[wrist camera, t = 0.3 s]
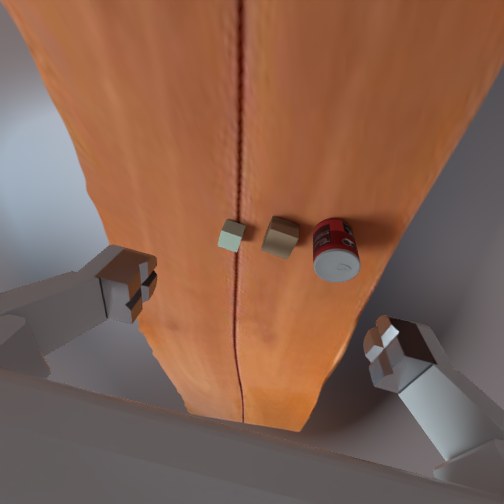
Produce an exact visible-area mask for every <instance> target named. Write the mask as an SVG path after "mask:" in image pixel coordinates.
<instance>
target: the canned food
mask: <svg viewBox="0 0 504 504" xmlns="http://www.w3.org/2000/svg"><path fill="white" fill-rule="evenodd" d="M313 263H314V270H315V273H316V274H317V275H318V276H319V277H320V278H322V279H324V280H326V281H330V282H344V281H347V280H350V279H352V278H353V277H355V276H356V275H357V274H358V272H359V270H360V260H359V255H358V251H357V247H356V243H355V239H354V235H353V231H352V228H351V227H350V226H349V224H348V223H346V222H345V221H343V220H341V219H336V218H331V219H326V220H324V221H322V222H320V223H319V224H318V225H317V226H316V228H315V229H314V232H313Z"/></svg>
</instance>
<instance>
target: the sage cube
mask: <svg viewBox="0 0 504 504" xmlns="http://www.w3.org/2000/svg"><path fill="white" fill-rule="evenodd" d="M245 227H246V226H245V225H242V224H239V223H236V222H234V221H231V220H228V219H227V220H226V222H225V224H224V226H223V228H222V230H221V234H220V238H219V242H218V246H219V247H222V248H225V249H228V250H231V251H234V252H237V250H238V247H239V245H240V242H241V239H242V236H243V233H244V230H245Z"/></svg>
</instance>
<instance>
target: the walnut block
mask: <svg viewBox="0 0 504 504" xmlns="http://www.w3.org/2000/svg"><path fill="white" fill-rule="evenodd" d="M298 239H299V225H297V224H294V223H292V222H289V221H286V220H283V219H280V218H278V217H275V216H273V217H272V219H271V222H270V224H269V226H268V229H267V231H266V234H265V236H264V240H263V244H262V248H261V251H264V252H267V253H270V254H273V255H276V256H279V257H282V258H285V259H288V257H289V256H290V254H291V252H292V250H293V248H294V246H295V245H296V243H297V241H298Z"/></svg>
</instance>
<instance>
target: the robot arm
mask: <svg viewBox="0 0 504 504" xmlns="http://www.w3.org/2000/svg"><path fill="white" fill-rule="evenodd" d="M156 266H157V258H156V257H155V256H153V255H150V254H146V253H143V252H139V251H136V250H132V249H129V248H124V247H121V246H117V245H109V246H108V247H107V248H106V249H104V250H103V251H102V252H101V253H100V254H98V255H97V256H96V257H95V258H94V259H92V260H91V261H90V262H89V263H88V264H86V265H85V266H84V267H83V268H82V269H80V270H79V271H78V272H73V271H71V272H68V273H65V274H61V275H58V276H55V277H52V278H48V279H45V280H42V281H38V282H35V283H32V284H29V285H26V286H22V287H19V288H16V289H12V290H9V291H5V292H2V293H0V504H504V410H503V409H502V408H501V407H499V406H498V405H497V404H496V403H495V402H494V401H493V400H492V399H491V398H489V397H488V396H487V395H486V394H485V393H484V392H483V391H482V390H480V389H479V388H478V387H477V386H476V385H475V384H474V383H473V382H471V381H470V380H469V379H468V378H467V377H466V376H465V375H464V374H462V373H461V372H460V371H457V370H455V369H454V367H453V365H452V364H451V362H450V360H449V359H448V357H447V355H446V354H445V352H444V350H443V349H442V347H441V345H440V343H439V342H438V340H437V338H436V336H435V335H434V333H433V331H432V330H431V329H430V328H429V327H428V326H427V325H422V324H418V323H414V322H409V321H405V320H401V319H397V318H393V317H389V316H385V315H383V316H381V317H379V318H378V320H377V321H376V325H377V327H375V328H373V329H370V330H369V331H368V333H367V334H366V336H365V339H364V351H365V355H366V357H367V358H368V359H369V360H370V361H371V364H370V366H369V370H370V374H371V377H372V380H373V384H374V387H378V388H381V389H385V390H388V391H392V392H395V393H399V396H400V398H401V399H402V400H403V402H404V403H405V405H406V406H407V407H408V409H409V410H410V412H411V413H412V414H413V416H414V417H415V419H416V420H417V421H418V423H419V424H420V425H421V427H422V428H423V430H424V431H425V433H426V434H427V435H428V437H429V438H430V440H431V441H432V442H433V444H434V445H435V446H436V448H437V449H438V451H439V452H440V453H441V455H442V456H443V457H444V459H445V460H446V462H445V463H442V464H440V465H438V466H436V467H435V468H434V470H433V473H434V475H435V478H433V477H429V476H425V475H421V474H417V473H413V472H409V471H405V470H401V469H397V468H393V467H390V466H386V465H382V464H378V463H374V462H370V461H366V460H362V459H358V458H354V457H350V456H347V455H343V454H338V453H335V452H331V451H327V450H323V449H319V448H315V447H311V446H307V445H304V444H300V443H295V442H292V441H288V440H284V439H280V438H276V437H272V436H268V435H264V434H261V433H257V432H253V431H249V430H245V429H241V428H236V427H233V426H229V425H225V424H221V423H218V422H214V421H210V420H206V419H202V418H198V417H194V416H190V415H186V414H182V413H178V412H175V411H170V410H167V409H163V408H159V407H154V406H151V405H147V404H143V403H139V402H135V401H131V400H127V399H124V398H120V397H116V396H111V395H108V394H104V393H100V392H96V391H92V390H88V389H84V388H80V387H76V386H72V385H69V384H65V383H61V382H57V381H53V380H49V379H47V377H48V376H49V375H50V374H51V371H50V367H49V365H48V363H47V361H46V359H45V357H44V356H45V355H47V354H49V353H51V352H52V351H54V350H56V349H58V348H59V347H61V346H63V345H65V344H66V343H68V342H70V341H71V340H73V339H75V338H77V337H78V336H80V335H82V334H83V333H85V332H87V331H89V330H90V329H92V328H94V327H95V326H97V325H99V324H100V323H102V322H104V321H106V320H107V319H112V320H116V321H120V322H125V323H129V324H133V322H134V321H135V319H136V318H137V317H138V315H139V314H140V312H141V311H142V309H143V308H142V303H143V302H145V301H148V300H149V299H150V298H151V296H152V294H153V292H154V290H155V288H156V284H157V274H156V273H155V271H154V269H155V267H156Z"/></svg>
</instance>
